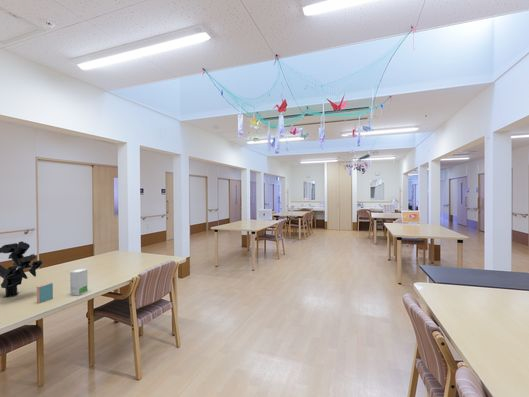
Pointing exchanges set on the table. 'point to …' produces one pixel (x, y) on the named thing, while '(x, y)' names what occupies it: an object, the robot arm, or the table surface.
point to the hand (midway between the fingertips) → (31, 277)
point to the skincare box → (78, 282)
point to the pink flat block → (44, 292)
